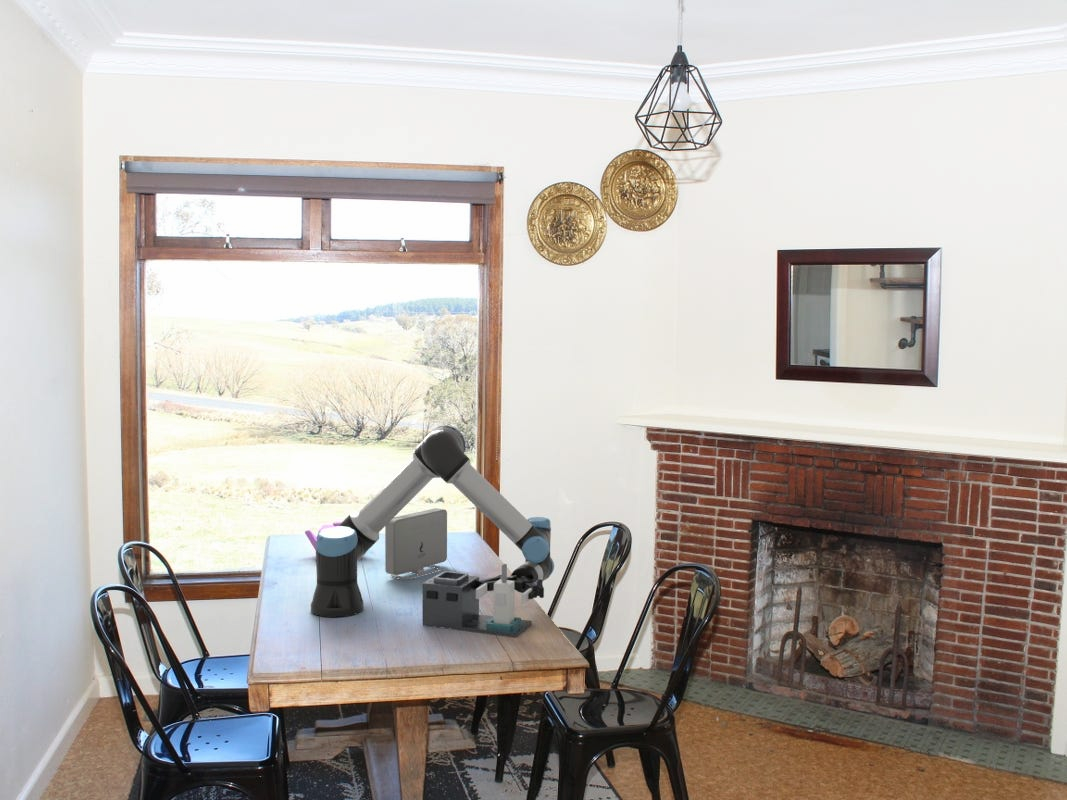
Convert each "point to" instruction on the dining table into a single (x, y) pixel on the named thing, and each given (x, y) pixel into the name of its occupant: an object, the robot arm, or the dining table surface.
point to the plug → (504, 599)
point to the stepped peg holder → (461, 606)
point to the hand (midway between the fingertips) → (499, 596)
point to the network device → (416, 542)
